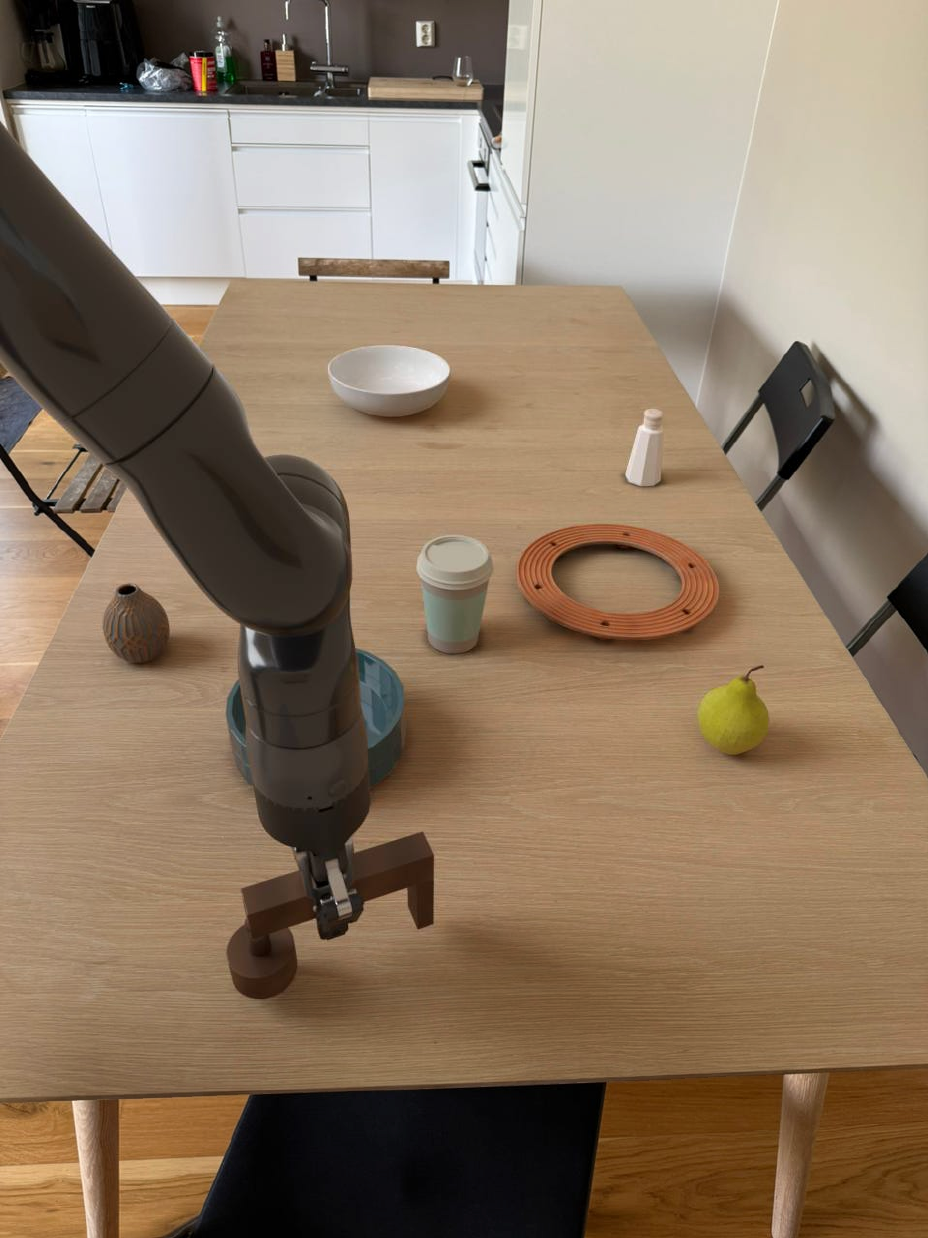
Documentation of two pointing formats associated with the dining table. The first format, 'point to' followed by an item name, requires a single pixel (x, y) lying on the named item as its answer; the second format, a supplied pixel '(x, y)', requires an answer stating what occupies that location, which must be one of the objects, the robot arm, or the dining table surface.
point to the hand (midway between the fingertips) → (328, 916)
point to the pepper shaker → (647, 451)
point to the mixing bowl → (379, 711)
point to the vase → (135, 625)
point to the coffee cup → (454, 590)
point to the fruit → (734, 716)
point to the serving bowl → (389, 379)
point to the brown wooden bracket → (276, 904)
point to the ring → (561, 609)
